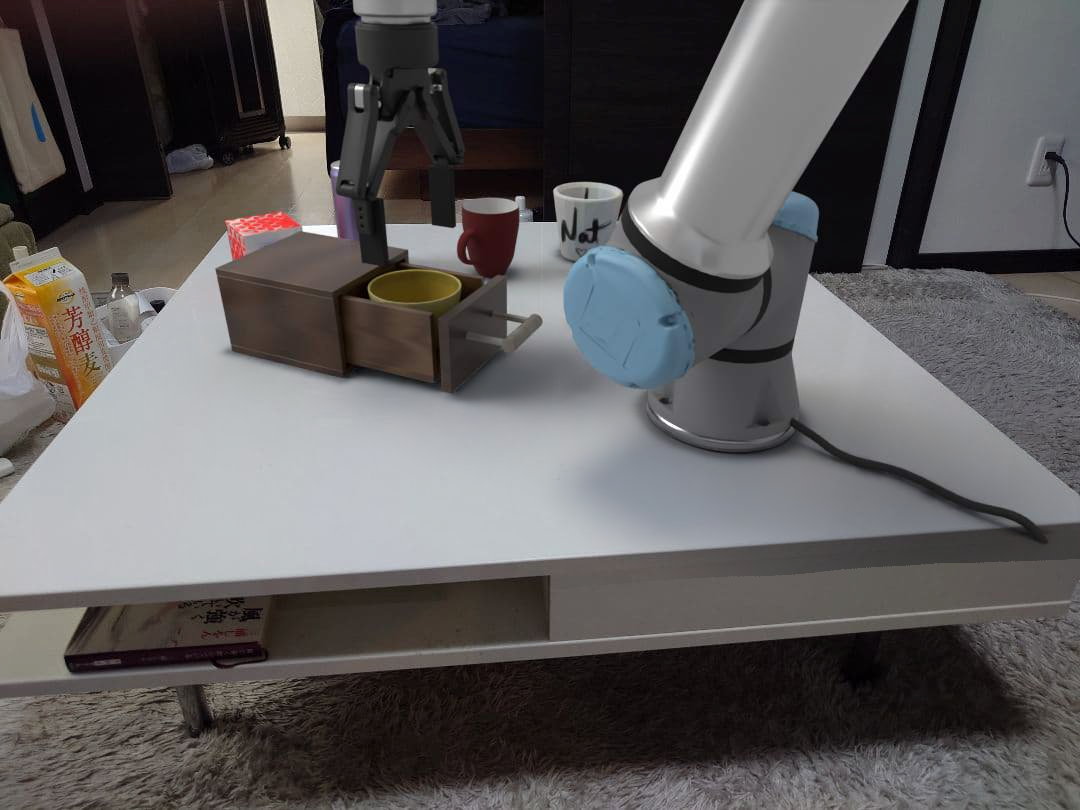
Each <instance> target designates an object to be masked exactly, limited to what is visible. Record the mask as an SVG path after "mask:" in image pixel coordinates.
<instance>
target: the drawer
mask: <svg viewBox="0 0 1080 810" xmlns="http://www.w3.org/2000/svg"><path fill="white" fill-rule="evenodd" d="M414 269H416V270H418V269H419V270H433V271H439V272H444V273H447V274H450V275H452V276H454V277H456V278H457V279H459V281H460V282H461V294H460V300H459V304H457V305H456V306H455V307H453V308H452V309H451V310H449V311H448V312H447V313H445V314H444V315H442V316H441V317H440V318H438V328H439V346H440V347H439V348H437V349H436V344H435V326H434V313H432V312H427V311H422V310H417V309H412V308H407V307H402V306H397V305H392V304H387V303H382V302H377V301H372V300H370V297H369V292H368V285H369V283H370V282H371V281H372V280H373V279H375V278H377V277H379V276H381V275H384V274H387V273H391V272H395V271H401V270H414ZM338 302H339V310H340V318H341V326H342V334H343V342H344V350H345V358H346V363H350V364H354V365H359V367H363V368H368V369H372V370H376V371H381V372H385V373H389V374H393V375H397V376H401V377H405V378H409V379H414V380H418V381H423V382H427V383H431V384H435V383H436V382H438V380H441V381H440V383H441V392H443V393H447V394H451V395H452V394H453V393H455V391H457V390H458V389H459V388H460V387H461V386H462V385H463V384H464V383H465V382H466V381H468V380H469V379H470V378H471V377H472V376H473V375H474V374H475V373H476V372H477V371H478V370H480V368H482V367H483V366H484V365H485V364H486V363H487V362H488V361H489V360H491V358H493V357H494V356H495V355H496V354H497V353H498V352H499V351H500V350H501V349H502V350H503V351H504V352H505V353H507V354H513V353H514V352H515V351H517V349H519V348H520V347H521V346H522V345H523V344H524V343H525V342H526V341H527V340H528V339H529V338H530V337H531V336H533V334H535V332H537V330H539V329H540V328H541V327H542V326H543V323H544V322H543V317H541V315H539V314H538V313H532V314H530V315H529V317H528V316H523V315H522V316H521V315H517V314H512V313H508V276H507V275H503V276H502V275H497V276H495V277H494V278H490V279H489V280H488V281H487V282H486V283H485V277H483V276H480V275H479V274H478V275H477V274H471V273H466V272H461V271H456V270H455V271H454V270H449V269H444V268H438V267H433V266H426V265H421V264H416V263H410V262H409V263H405V262H400V261H399V262H397V263H395V264H393V265H392V266H390V267H388V268H387V269H385V270H383V271H381V272H380V273H378V274H376V275H374V276H373V277H371V278H369V279H367V280H366V281H364V282H362V283H360V284H359V285H357V286H355V287H353V288H352V289H350V290H348V291H346V292H345V293H343V294H341V295H340V296H338ZM508 322H513V323H519V325H518V326H517V327H516V328H515V329H513V331H512V332H511V333H509V334H508Z"/></svg>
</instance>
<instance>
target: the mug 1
mask: <svg viewBox="0 0 1080 810" xmlns="http://www.w3.org/2000/svg"><path fill="white" fill-rule="evenodd" d="M461 225H462V231H463V232H462V233H460V235H459V237H458V240H457V244H456V255H457V259H458V260H459V261H460V263H462V264H464V265H467V266H472V267H473V269H474V270H475V271H476V273H477V274H478V276H483V277H484V279H493V278H494V277H495V276H497V275H502V276H506V275H505V274H506V273H507V271H508V269H509V268H510V266H511V264H512V262H513V260H514V257H515V253H516V246H517V241H518V234H519V231H520V229H519V228H520V204H519V203H518V202H516V201H514V200H512V199H508V198H501V197H478V198H473V199H470V200H466V201H464V202H463V203H462V204H461ZM467 254H468V255H467ZM468 258H469V259H468Z"/></svg>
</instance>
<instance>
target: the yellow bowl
mask: <svg viewBox="0 0 1080 810" xmlns="http://www.w3.org/2000/svg"><path fill="white" fill-rule="evenodd" d="M368 292H369V297H370V300H372V301H377V302H382V303H387V304H392V305H397V306H402V307H407V308H412V309H417V310H422V311H427V312H432V313H434V326H435V344H436V349H437V348H439V347H440V346H439V328H438V318H440V317H441V316H442V315H444V314H445V313H447V312H448V311H449V310H451V309H452V308H453V307H455V306H456V305H457V304H459V300H460V294H461V282H460V281H459V279H457V278H456V277H454V276H452V275H450V274H447V273H444V272H439V271H433V270H419V269H418V270H416V269H414V270H401V271H395V272H391V273H387V274H384V275H381V276H379V277H377V278H375V279H373V280H372V281H371V282H370V283H369V285H368Z"/></svg>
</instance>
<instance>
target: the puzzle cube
mask: <svg viewBox="0 0 1080 810" xmlns="http://www.w3.org/2000/svg"><path fill="white" fill-rule="evenodd" d="M225 227H226V232H227V237H228V243H229V248H230V254H231V258H232V261H233V260H236V259H238V258H240V257H242V256H245V255H247V254H249V253H252V252H254V251H256V250H259V249H261V248H263V247H265V246H268V245H270V244H272V243H275V242H277V241H279V240H281V239H284V238H286V237H288V236H291V235H293V234H295V233H298V232H300V231H303V226H302V225H301V224H300V223H298V222H297V221H296V220H294V219H293V218H291V217H290V216H288V215H287V214H285V213H284V212H283V211H277V212H272V213H264V214H259V215H258V214H257V215H252V216H246V217H239V218H233V219H227V220H225ZM303 232H304V231H303Z"/></svg>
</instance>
